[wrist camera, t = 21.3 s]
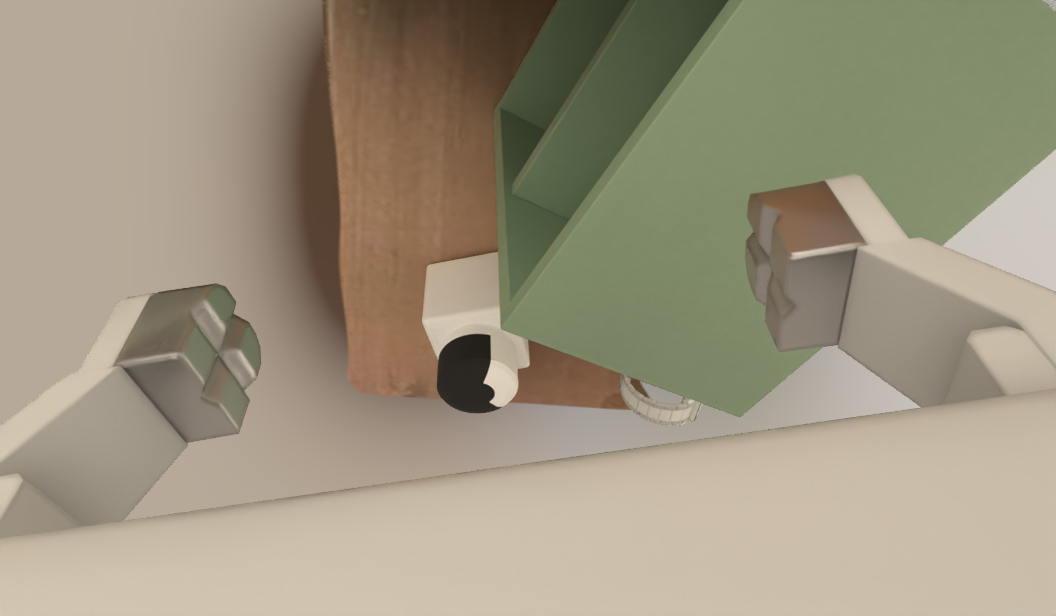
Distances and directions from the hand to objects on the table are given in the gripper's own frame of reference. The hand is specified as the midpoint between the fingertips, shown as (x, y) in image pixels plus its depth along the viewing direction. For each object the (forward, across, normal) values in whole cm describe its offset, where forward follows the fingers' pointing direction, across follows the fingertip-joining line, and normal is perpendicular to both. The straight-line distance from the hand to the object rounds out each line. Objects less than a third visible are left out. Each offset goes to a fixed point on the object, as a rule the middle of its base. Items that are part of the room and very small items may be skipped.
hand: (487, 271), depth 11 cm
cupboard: (+37, -10, +12) cm, 40 cm away
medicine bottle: (+37, +7, +31) cm, 49 cm away
